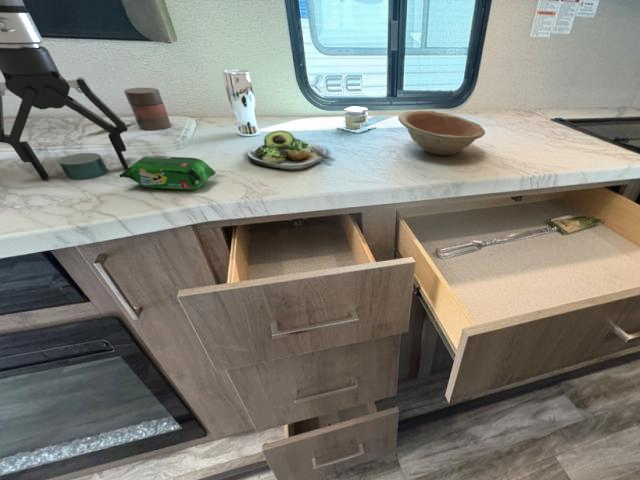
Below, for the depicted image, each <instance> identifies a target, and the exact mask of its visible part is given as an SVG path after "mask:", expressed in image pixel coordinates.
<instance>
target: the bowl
mask: <svg viewBox="0 0 640 480" xmlns="http://www.w3.org/2000/svg"><path fill="white" fill-rule="evenodd" d="M397 120H398V121H399V122H400V124H401V125H402V126H403V127H404V128H406V129H407V132H408V133H409V136H410V138H411V140H413V142H415V143H416V144H417V146H418V147H420V148H421V149H422V150H423V151H425V152H427V153H429V154H431V155H436V156H437V155H438V156H451V155H454V154H456V153H458V152H460V151H462V150H464V149H467V148H468V147H470V145H472V144H473V142H475V141H476V140H478V139H481V138H482V137H483V136H484V135H486V131H485V129H484V128H483V127H482V125H480V124H479V123H477V122H474V121H472V120H468V119H466V118H464V117H461V116H456V115H452V114H449V113H444V112H438V111H434V110H409V111H405V112H402V113H400V114H398V117H397Z"/></svg>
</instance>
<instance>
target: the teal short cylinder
mask: <svg viewBox="0 0 640 480" xmlns="http://www.w3.org/2000/svg"><path fill="white" fill-rule="evenodd" d="M57 163H58V164H59V166H60V168H61V169H62V172H63V173H64V175H65V176H66V178H68V179H70V180H90V179H94V178H99V177H102V176H104V175H105V174H107V173H109V169H108V167H107V165H106V163H105V161H104V159H103V158H102V155H101V154H99V153H95V152H80V153H73V154H69V155H66V156H62V157H61V158H59V159H58V160H57Z"/></svg>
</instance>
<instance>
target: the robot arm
mask: <svg viewBox="0 0 640 480" xmlns="http://www.w3.org/2000/svg"><path fill="white" fill-rule="evenodd" d="M43 42H44V39H43V38H42V35H41V34H40V32H39V30H38V27H37V26H36V24H35V22H34V20H33V18H32V16H31V14H30V12H29V11H28V10H27V8H26V5H25V3H24V1H23V0H0V72H1V74H2V76H3V78H4V81H0V144H1V143H2V144H7V145H10V146H11V147H12V148H13V150H14V151H15V153H16V154H17V156H18V157H19V159H20V160H21V161H22V162H23V163H30V164H31V165H32V167H33V168H34V170H35V171H36V173H37V174H38V176H39V178H40V179H41V181H48V179H49V174H48V172H47V170H46V168H45V167H44V166H43V164H42V162H41V161H40V159H39V158H38V156H37V154H36V153H35V152H34V150H33V148H32V147H31V145H30V144H29V142H28V141H27V140H23V141H21V138H22V135H23V132H24V130H25V127H26V124H27V121H28V120H29V119H28V118H29V116H30V113H31V110H32V107H33V108H35V109H38V110H47V109H51V108H52V109H62V108H64V107H67V108H69V109H71V110H72V111H75V112H76V113H78V114H80V116H82V117H84V118H85V119H87V120H89V121H90V122H92V123H93V124H95V125H96V126H98V127H100V128H101V129H103V130H104V131H105V132H107V133H108V134H107V136H108V139H109V141H110V144H111V145H112V147H113V150H114V152H115V154H116V156H117V157H118V159H119V162H120V164H121V165H122V168H123V170H124V171H125V170H127V169H128V168H129V165H128V162H127V161H126V159H125V156H124V154H123V153H124V152H127V147H126V145H125V143H124V140H123V138H122V136H121V135H122V133H125V132H128V125H127V124H126V123H125V122H124V121H123V120H122V119H121V118H120V117H119V116H118V115H117V114H116V113H115V112H114V111H113V110H112V109H111V108H110V107H109V106H108V105H107V104H106V103H105V102H104V101H103V100H102V99H101V98H100V97H99V96H98V95H96V94H95V92H94V91H92V89H91V87H90V86H89V84H88V82H87V81H86V79H85V78H84V77H82V76H78V77H77V78H75V79H67V80H66V79H65V78H64V77H63V75H62V74H61V73H60V71H59V69H58V67H57V65H56V63H55V60H54V59H53V57H52V55H51V53H50V52H49V49H48V48H46V47H45V46H42V43H43ZM71 88H72V89H74V90H75V91H76V92H77V93H80V94H83V95H84V96H85V97H86V99H88V100H89V101H90V102H91V103H92V104H93V105H94V106H95V107H96V108H97V109H98V110H99V111H100V112H101V113H103V114H104V116H105V117H107V118H108V120H110V121H111V122H112V123H113V124H114V125H113V124H111V123H110V122H108V121H107V120H105V119H104V118H102V117H100V116H99V115H98V114H96V113H95V112H93V111H91V110H90V109H89V108H87V107H86V106H84V105H83V104H81V103H80V102H79V101H77V100H76V99H75V98H73V97H71V96H70V95H69V94H70V91H71ZM6 91H9V92H10V93H12V94H13V95H15V96H16V97H18V98H20V100H21V102H20V104H19V108H18V110H17V113H16V117H15V120H14V122H13V125H12V128H11V131H10V133H9V134H6V133H5V124H4V107H3V97H4V96H6Z"/></svg>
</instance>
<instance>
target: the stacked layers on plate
mask: <svg viewBox="0 0 640 480" xmlns="http://www.w3.org/2000/svg"><path fill="white" fill-rule="evenodd" d="M343 110H344V111H347V112H345V113H343V116H344V118H345V119H344V121H343V123H345V125H346V129H350V130H357V129H360V128H361V124H366V123H368V122H369V120H368V117H367V116H368V115H369V113H368V112H367V110H368V107H363V106H348V107H346V108H343ZM340 127H341V126H339V127H336V128H335V129H336V130H338V129H337V128H340Z"/></svg>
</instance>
